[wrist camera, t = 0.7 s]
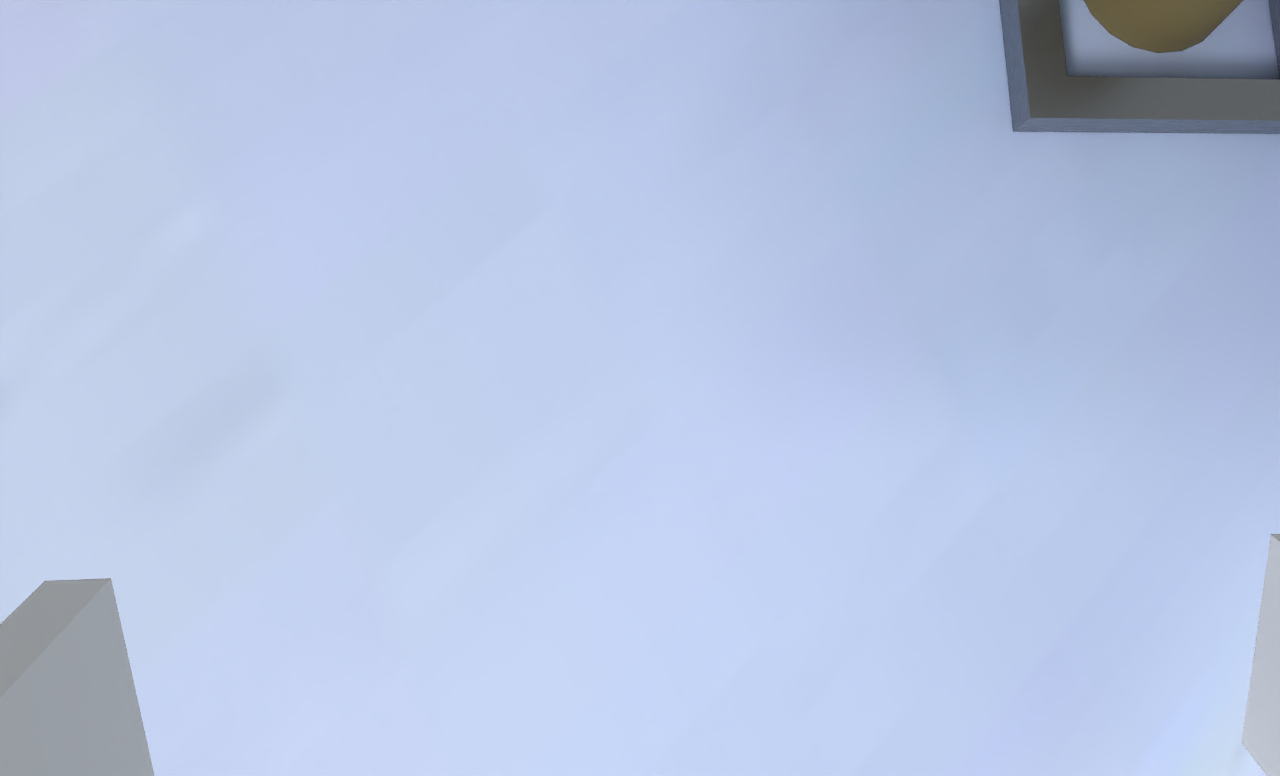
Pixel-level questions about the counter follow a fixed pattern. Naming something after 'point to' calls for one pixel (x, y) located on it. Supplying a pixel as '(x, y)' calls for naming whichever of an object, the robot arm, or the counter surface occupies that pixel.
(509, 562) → the counter surface
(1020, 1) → the grey square frame
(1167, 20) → the cork
